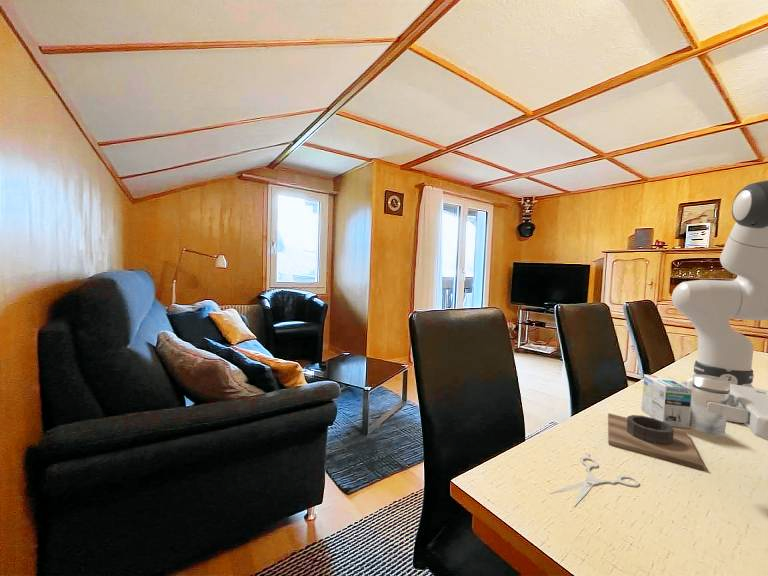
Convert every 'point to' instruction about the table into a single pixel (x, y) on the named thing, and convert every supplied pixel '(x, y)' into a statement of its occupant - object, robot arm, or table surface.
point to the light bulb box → (667, 400)
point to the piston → (701, 393)
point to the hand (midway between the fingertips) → (702, 400)
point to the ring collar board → (652, 439)
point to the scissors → (594, 480)
